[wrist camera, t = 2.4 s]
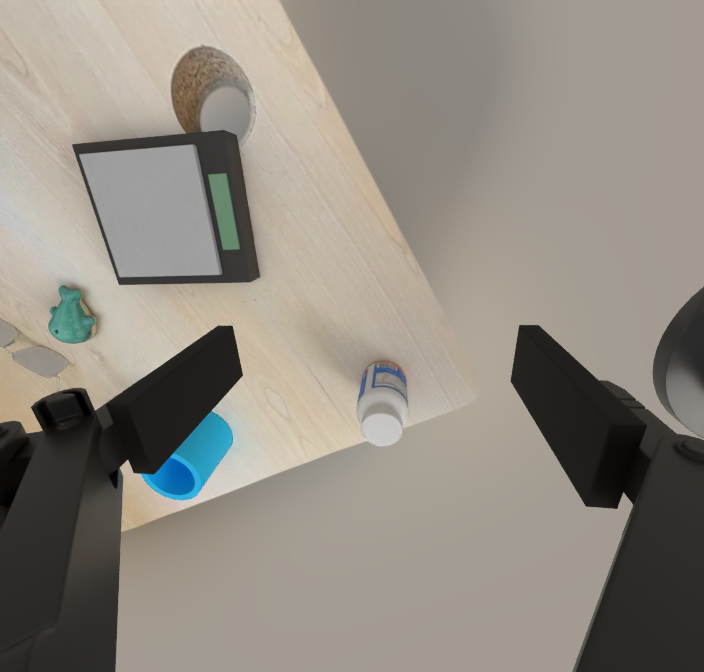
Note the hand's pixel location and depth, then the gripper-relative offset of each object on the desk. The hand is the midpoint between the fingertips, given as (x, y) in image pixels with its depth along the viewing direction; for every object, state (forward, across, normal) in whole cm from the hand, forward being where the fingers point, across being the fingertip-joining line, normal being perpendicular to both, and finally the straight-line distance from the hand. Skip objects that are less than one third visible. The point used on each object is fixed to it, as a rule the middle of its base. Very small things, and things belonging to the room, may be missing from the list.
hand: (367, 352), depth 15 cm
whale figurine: (+21, -39, -5) cm, 45 cm away
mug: (+22, -27, -22) cm, 41 cm away
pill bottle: (+22, 0, -14) cm, 26 cm away
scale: (+21, -22, +6) cm, 31 cm away
